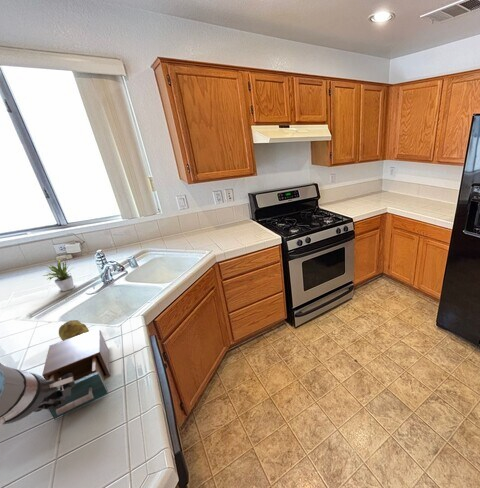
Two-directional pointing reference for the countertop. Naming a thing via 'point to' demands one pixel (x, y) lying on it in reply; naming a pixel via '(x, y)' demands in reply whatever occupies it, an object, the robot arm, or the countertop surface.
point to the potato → (72, 329)
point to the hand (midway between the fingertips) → (59, 401)
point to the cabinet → (77, 353)
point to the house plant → (61, 277)
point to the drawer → (81, 385)
